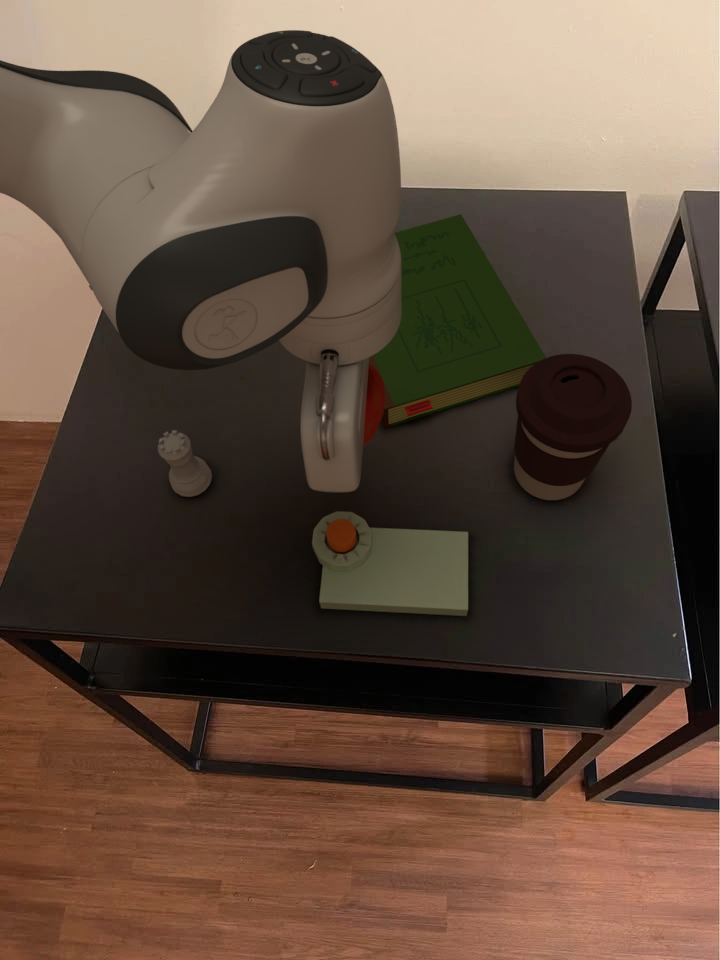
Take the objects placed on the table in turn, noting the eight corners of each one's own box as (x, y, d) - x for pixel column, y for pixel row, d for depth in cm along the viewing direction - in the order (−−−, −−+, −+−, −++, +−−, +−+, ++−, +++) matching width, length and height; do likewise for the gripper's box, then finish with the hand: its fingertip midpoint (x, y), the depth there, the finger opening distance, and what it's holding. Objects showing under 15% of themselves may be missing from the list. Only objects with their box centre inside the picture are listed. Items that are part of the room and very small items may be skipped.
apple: (305, 413, 62) (294, 359, 56) (372, 393, 63) (368, 337, 57) (326, 472, 60) (317, 423, 53) (396, 450, 60) (395, 399, 54)
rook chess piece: (219, 468, 78) (201, 428, 71) (202, 503, 76) (181, 465, 69) (182, 458, 78) (161, 417, 71) (164, 492, 76) (140, 453, 70)
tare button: (326, 552, 69) (324, 544, 67) (329, 525, 70) (327, 518, 69) (355, 553, 69) (354, 546, 67) (357, 527, 70) (356, 519, 68)
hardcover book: (320, 277, 90) (317, 254, 87) (459, 237, 92) (460, 214, 89) (386, 434, 79) (386, 414, 75) (543, 384, 81) (549, 363, 77)
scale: (310, 608, 69) (305, 595, 66) (319, 525, 74) (315, 510, 71) (466, 616, 68) (469, 604, 65) (466, 531, 72) (469, 516, 69)
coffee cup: (590, 523, 72) (631, 445, 59) (492, 502, 74) (511, 421, 61) (601, 442, 77) (642, 352, 64) (509, 423, 78) (530, 333, 65)
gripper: (373, 431, 42) (380, 531, 54) (389, 193, 52) (392, 322, 64) (267, 429, 42) (297, 528, 55) (302, 193, 52) (321, 321, 64)
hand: (348, 415), depth 59 cm, fingers closed on apple, 6 cm apart
